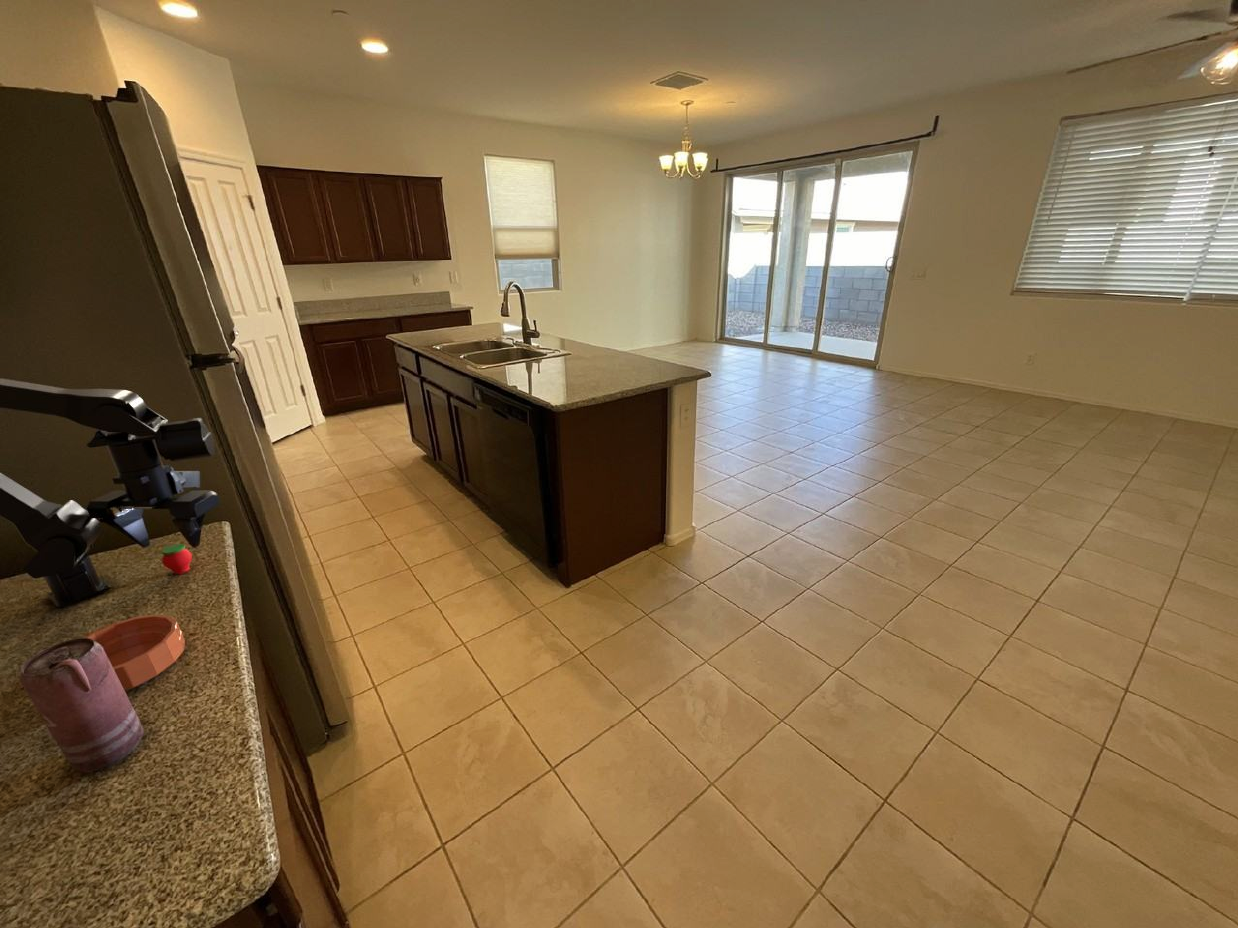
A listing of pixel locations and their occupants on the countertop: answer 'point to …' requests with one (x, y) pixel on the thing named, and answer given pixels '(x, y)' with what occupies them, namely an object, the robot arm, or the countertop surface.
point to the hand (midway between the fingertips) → (171, 546)
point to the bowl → (141, 647)
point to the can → (82, 703)
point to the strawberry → (176, 558)
